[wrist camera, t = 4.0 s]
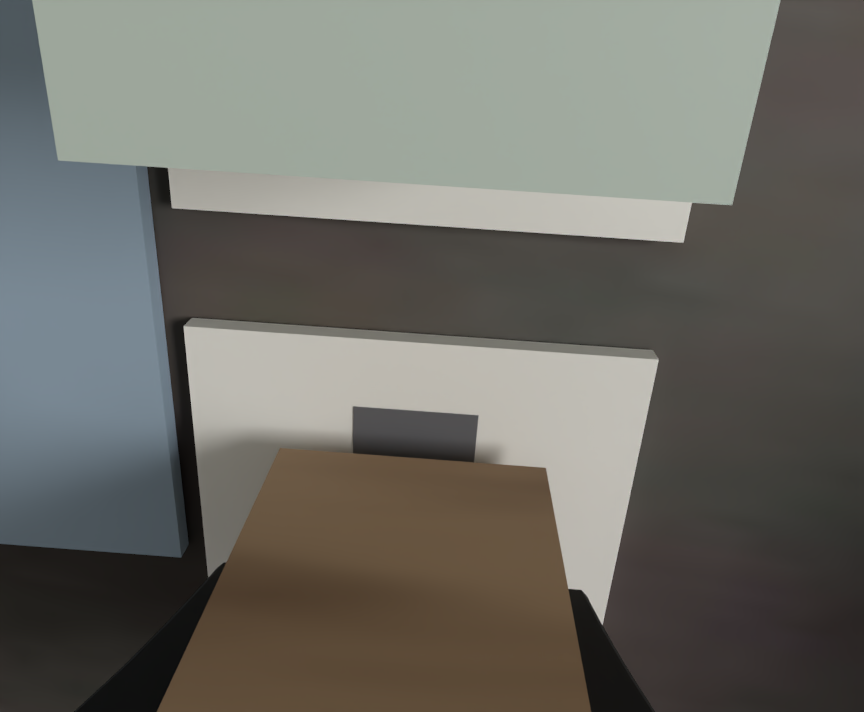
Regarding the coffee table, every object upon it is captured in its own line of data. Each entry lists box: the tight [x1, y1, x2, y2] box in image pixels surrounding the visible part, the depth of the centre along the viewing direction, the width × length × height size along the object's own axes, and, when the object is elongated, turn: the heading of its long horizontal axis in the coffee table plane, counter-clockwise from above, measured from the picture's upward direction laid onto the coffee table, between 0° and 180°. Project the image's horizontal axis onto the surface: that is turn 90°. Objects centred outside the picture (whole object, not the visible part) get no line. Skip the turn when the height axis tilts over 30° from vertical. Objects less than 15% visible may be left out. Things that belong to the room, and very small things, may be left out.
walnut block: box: [157, 448, 591, 712], centre depth 10 cm, size 4×4×6 cm
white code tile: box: [183, 318, 659, 625], centre depth 13 cm, size 8×8×1 cm
